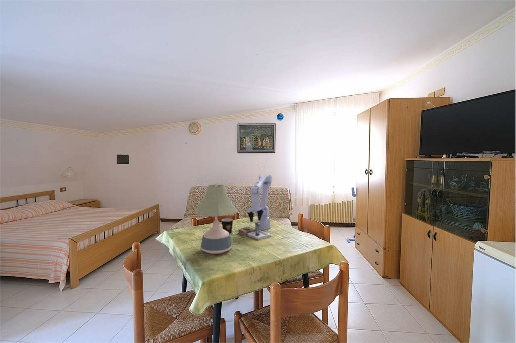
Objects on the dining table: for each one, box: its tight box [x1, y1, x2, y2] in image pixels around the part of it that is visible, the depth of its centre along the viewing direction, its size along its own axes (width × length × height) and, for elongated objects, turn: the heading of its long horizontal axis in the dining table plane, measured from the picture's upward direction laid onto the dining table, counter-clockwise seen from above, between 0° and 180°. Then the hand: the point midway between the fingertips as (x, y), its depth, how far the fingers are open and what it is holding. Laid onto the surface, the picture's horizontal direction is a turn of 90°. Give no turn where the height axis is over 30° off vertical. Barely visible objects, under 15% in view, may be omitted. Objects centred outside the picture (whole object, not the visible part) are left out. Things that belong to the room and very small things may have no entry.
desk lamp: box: [194, 182, 239, 255], centre depth 152 cm, size 26×28×42 cm
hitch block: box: [237, 226, 255, 237], centre depth 187 cm, size 10×8×3 cm
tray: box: [247, 230, 272, 241], centre depth 180 cm, size 12×12×2 cm
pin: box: [254, 221, 261, 236], centre depth 181 cm, size 4×4×9 cm
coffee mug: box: [219, 218, 234, 234], centre depth 188 cm, size 12×9×10 cm
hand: (255, 220), depth 184 cm, fingers open, 7 cm apart
